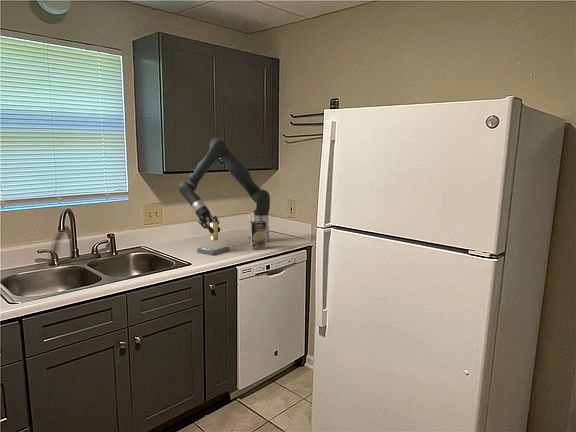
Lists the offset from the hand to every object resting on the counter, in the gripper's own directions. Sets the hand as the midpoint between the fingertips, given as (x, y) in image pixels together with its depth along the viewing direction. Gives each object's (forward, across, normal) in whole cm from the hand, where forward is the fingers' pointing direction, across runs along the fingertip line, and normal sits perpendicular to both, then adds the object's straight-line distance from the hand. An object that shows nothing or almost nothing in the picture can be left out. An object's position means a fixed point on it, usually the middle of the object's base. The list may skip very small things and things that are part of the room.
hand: (216, 232), depth 251 cm
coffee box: (+18, +20, -2) cm, 27 cm away
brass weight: (+2, 0, +5) cm, 5 cm away
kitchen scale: (+7, -1, +9) cm, 12 cm away
